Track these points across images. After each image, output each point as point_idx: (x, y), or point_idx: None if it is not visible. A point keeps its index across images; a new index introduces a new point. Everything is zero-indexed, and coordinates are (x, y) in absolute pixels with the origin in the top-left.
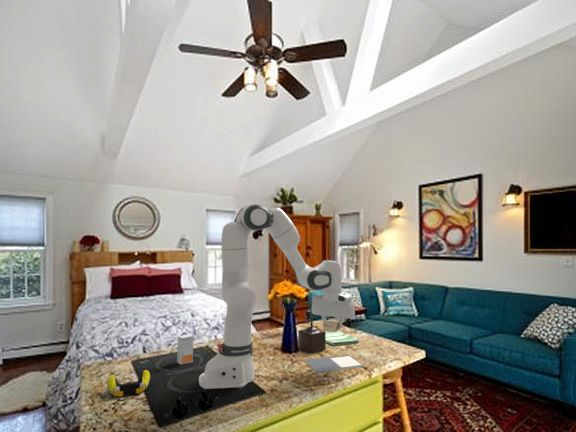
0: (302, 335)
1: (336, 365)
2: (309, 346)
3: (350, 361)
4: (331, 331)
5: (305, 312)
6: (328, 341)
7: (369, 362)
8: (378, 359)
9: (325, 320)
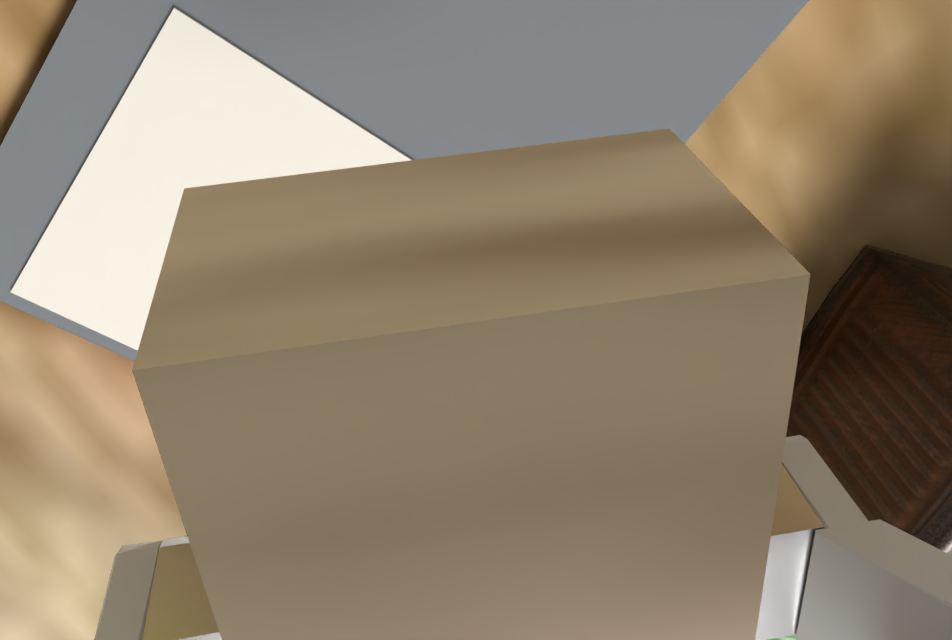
0: None
1: (298, 44)
2: (934, 299)
3: None
4: (319, 174)
5: None
6: (783, 638)
7: (38, 448)
8: (26, 578)
9: (835, 613)
